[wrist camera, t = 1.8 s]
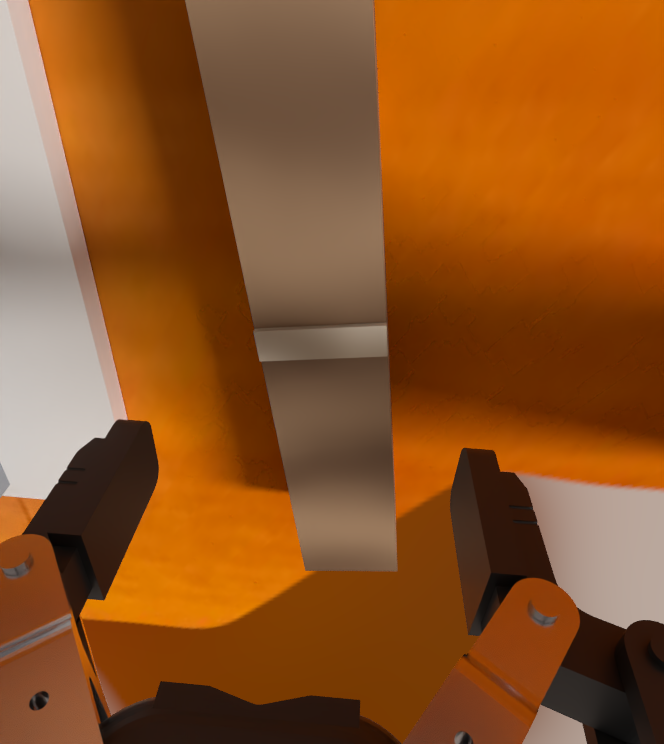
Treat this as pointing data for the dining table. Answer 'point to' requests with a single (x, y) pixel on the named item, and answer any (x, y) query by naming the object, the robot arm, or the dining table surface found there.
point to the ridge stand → (43, 285)
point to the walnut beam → (311, 252)
